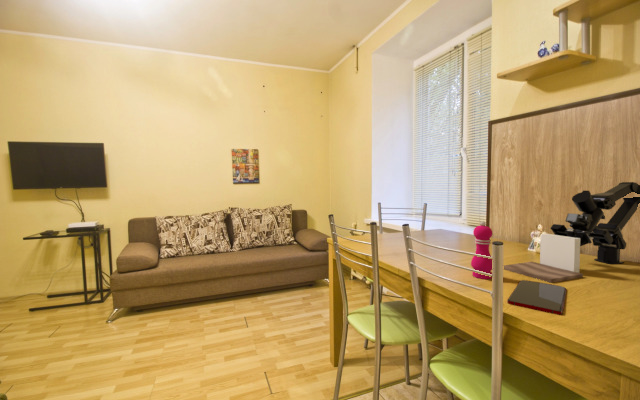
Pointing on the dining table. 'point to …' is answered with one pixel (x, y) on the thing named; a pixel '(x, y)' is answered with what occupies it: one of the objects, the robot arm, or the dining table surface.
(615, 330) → the dining table surface
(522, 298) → the smartphone
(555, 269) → the brown flat board
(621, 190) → the robot arm
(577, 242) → the white flat box
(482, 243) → the pepper mill
